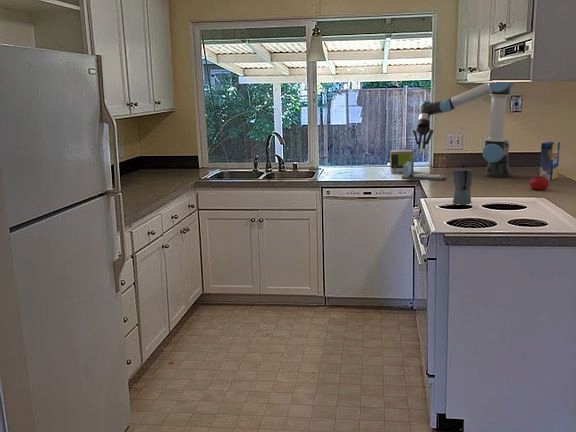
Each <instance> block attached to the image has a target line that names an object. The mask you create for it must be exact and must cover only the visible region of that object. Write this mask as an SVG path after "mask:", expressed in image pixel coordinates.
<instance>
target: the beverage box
mask: <svg viewBox="0 0 576 432" xmlns="http://www.w3.org/2000/svg"><path fill="white" fill-rule="evenodd" d="M540 146H541V147H540V160H539V161H540V163H539V173H540V177H541V176H542V177H543V176H545V177H544V178H547V179H548V180H549V181H552V179H553V180H554V179H555V178H556V179H558V175H559V174H558V173H559V163H560V161H559V160H560V150H561V149H560V148H561V147H560V146H561V142H557V141H547V142H546V141H544V142H541V145H540Z"/></svg>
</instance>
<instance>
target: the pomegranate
mask: <svg viewBox="0 0 576 432" xmlns="http://www.w3.org/2000/svg"><path fill="white" fill-rule="evenodd" d="M537 174H538V175H535V176H533V177H532V178H531V179H530V180H529V187H530V189H531V190H532V189H537V190H536V191H545V190H547V189H548V188H549V185H550V180H548V179H547V178H544V177H545V176H543V177H542V176H541V177H540V172H538V173H537Z"/></svg>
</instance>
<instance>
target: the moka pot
mask: <svg viewBox="0 0 576 432" xmlns="http://www.w3.org/2000/svg"><path fill="white" fill-rule="evenodd" d="M452 171H453V172H452V173H453V182H454V183H453V185H454V194H453V199H452V204H453V203H454V204H460V205H466V204H470V203H471V204H472V196H471V186H472V180H473V174H474V169H470V168H467V167H466V164H462V165H461V168H454V169H453V170H452Z"/></svg>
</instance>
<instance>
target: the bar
mask: <svg viewBox="0 0 576 432" xmlns="http://www.w3.org/2000/svg"><path fill="white" fill-rule="evenodd" d="M411 173H412V174H414V172H413V161H407V162H406V164H405V165H403V173H402V176H403V177H409V175H410V174H411Z"/></svg>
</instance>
